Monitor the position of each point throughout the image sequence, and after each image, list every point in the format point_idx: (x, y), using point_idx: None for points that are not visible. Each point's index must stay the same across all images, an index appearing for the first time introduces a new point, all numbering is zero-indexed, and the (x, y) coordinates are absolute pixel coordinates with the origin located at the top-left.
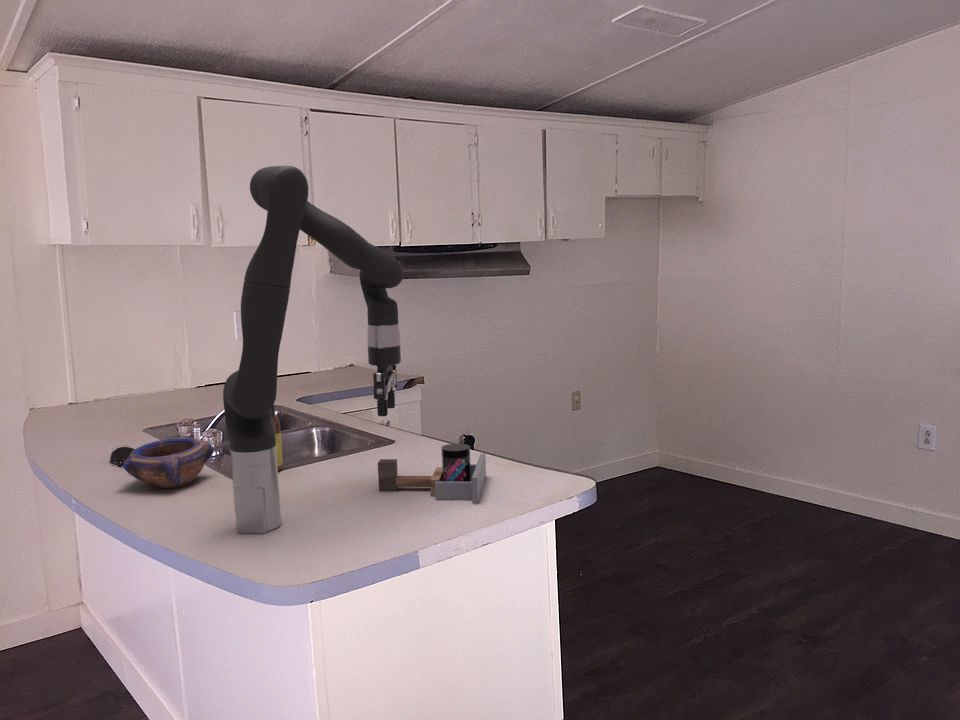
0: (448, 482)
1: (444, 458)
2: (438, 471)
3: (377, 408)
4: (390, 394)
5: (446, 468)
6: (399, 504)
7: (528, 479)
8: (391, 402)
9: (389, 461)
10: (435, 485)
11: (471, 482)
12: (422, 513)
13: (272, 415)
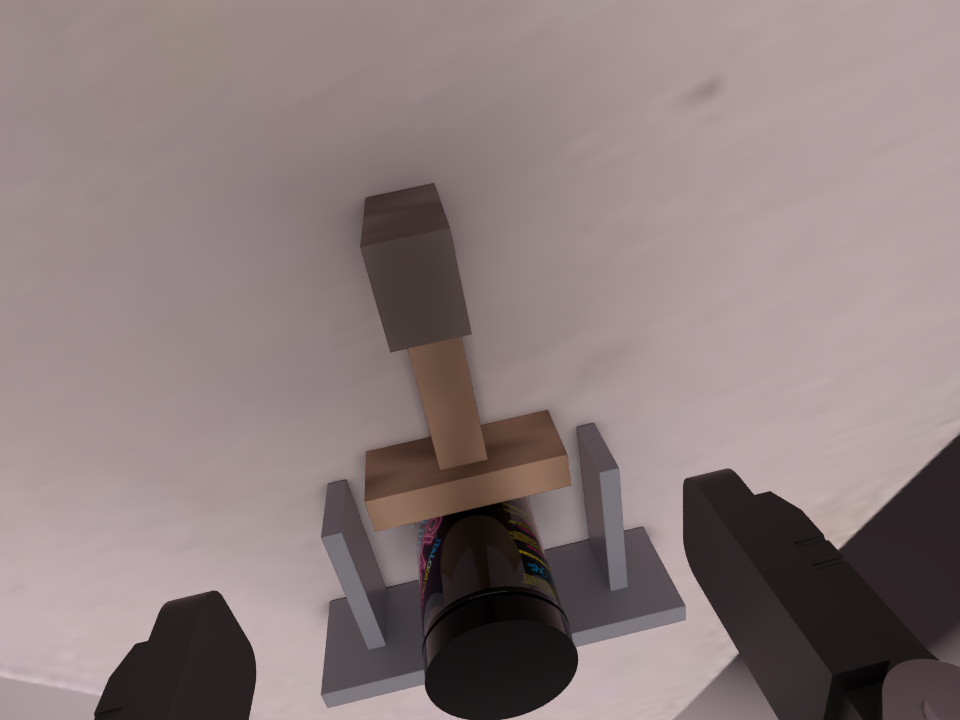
0: (344, 579)
1: (435, 609)
2: (502, 485)
3: (124, 701)
4: (800, 716)
5: (424, 577)
6: (213, 377)
7: (623, 649)
8: (723, 597)
9: (412, 310)
10: (322, 530)
11: (372, 643)
12: (150, 501)
13: None
